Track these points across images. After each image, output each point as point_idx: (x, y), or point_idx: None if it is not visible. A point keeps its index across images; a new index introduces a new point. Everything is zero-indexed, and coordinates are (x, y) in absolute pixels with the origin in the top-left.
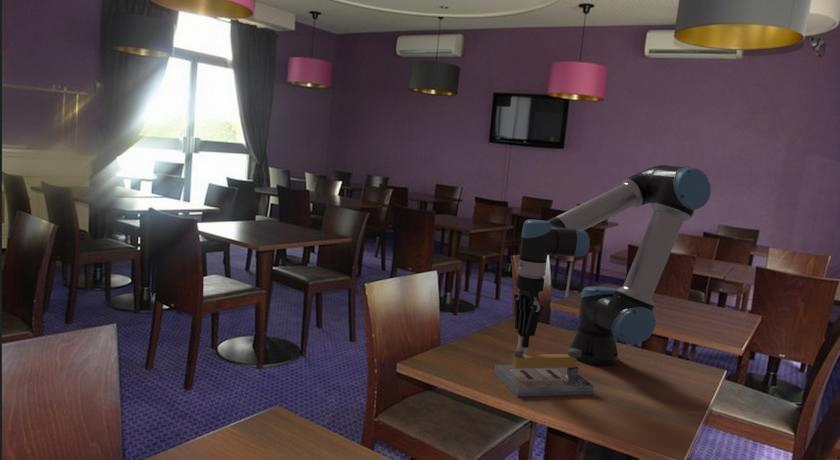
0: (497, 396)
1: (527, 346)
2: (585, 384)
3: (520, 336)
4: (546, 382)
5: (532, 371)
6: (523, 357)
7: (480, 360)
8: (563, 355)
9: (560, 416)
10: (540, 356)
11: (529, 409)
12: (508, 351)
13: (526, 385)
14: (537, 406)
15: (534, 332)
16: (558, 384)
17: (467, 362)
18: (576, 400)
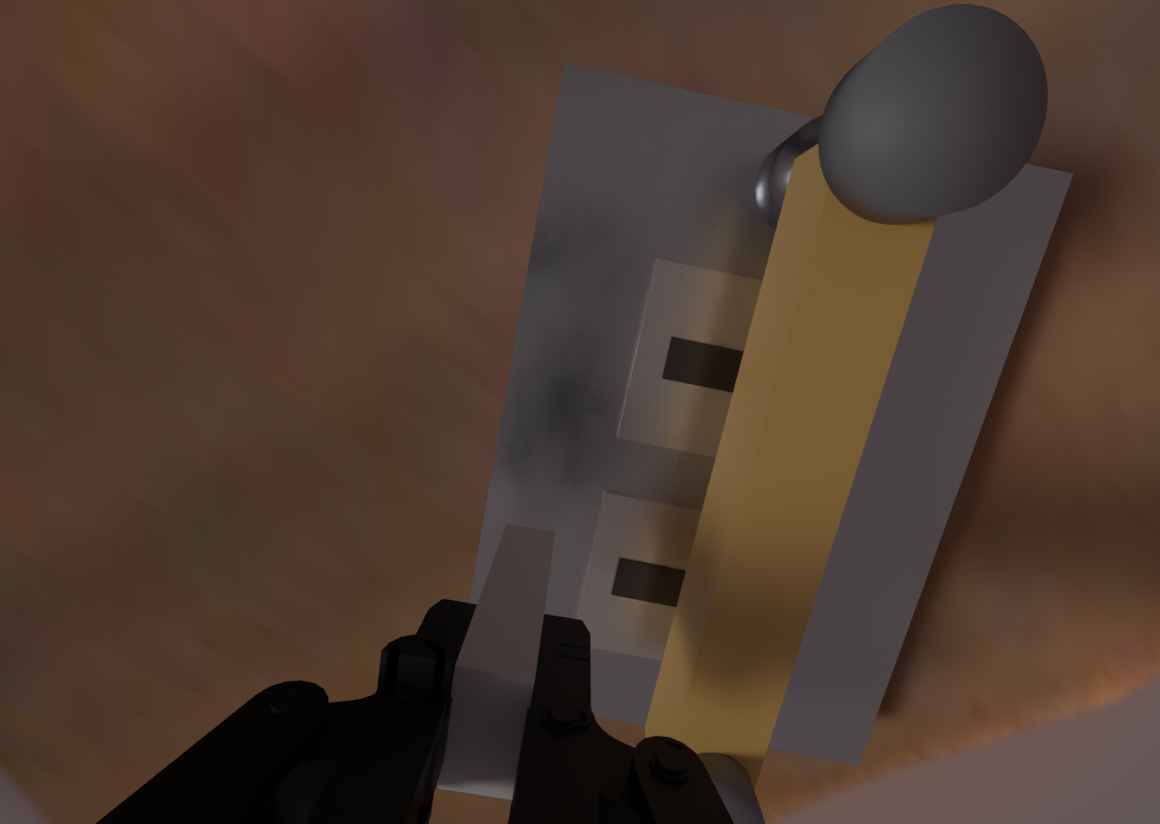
0: (773, 802)
1: (587, 640)
2: (1022, 231)
3: (505, 785)
4: (860, 527)
5: (657, 506)
6: (755, 766)
7: (219, 596)
8: (851, 291)
9: (1132, 633)
10: (786, 585)
11: (982, 738)
12: (38, 262)
13: (850, 696)
14: (972, 675)
15: (721, 817)
16: (927, 462)
17: (247, 697)
18: (1016, 379)
